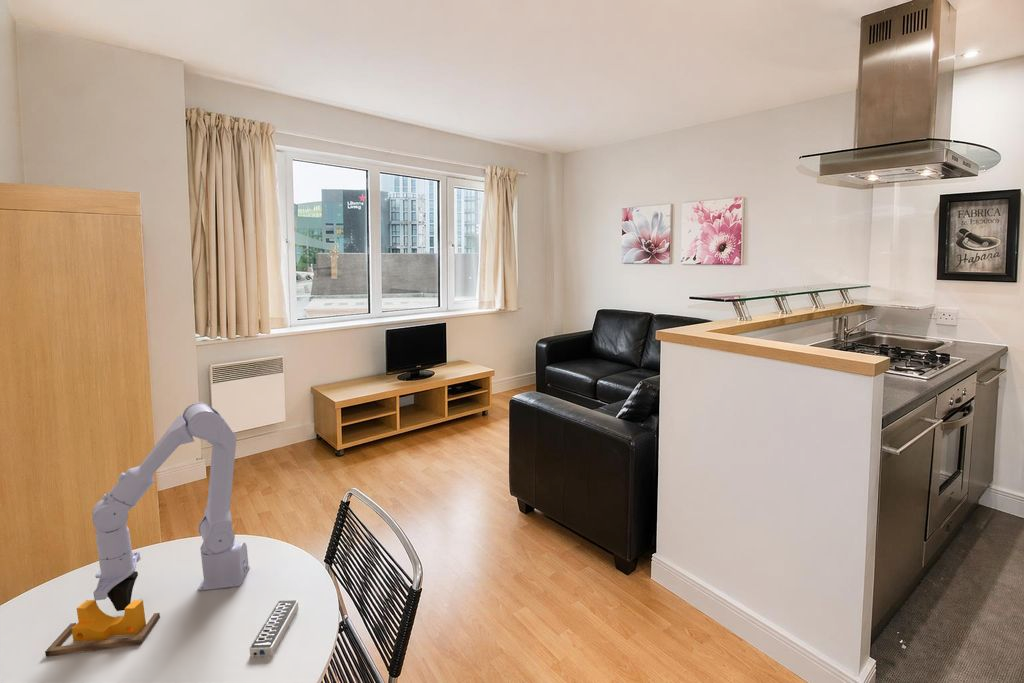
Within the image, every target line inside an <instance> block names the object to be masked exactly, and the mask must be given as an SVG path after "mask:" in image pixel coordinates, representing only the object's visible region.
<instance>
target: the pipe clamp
mask: <svg viewBox="0 0 1024 683" xmlns="http://www.w3.org/2000/svg"><path fill="white" fill-rule="evenodd" d="M76 615H77V621H78V622H77V623H76V625H75V626H74V627H72V634H71V635H72V639H73V642H97V641H105V640H109V638H110V637H111V636H139V634H140V633H141V632H142V630H143V629H144V627H145V626H146V624H147V623H146V620H147V619H146V615H145V606H144V600H143V599H133V600H131V602H130V604H129V605H128V606H127V607H126V608H125V610H124V614H123V616H117V617H116V616H110V615H109V614H107V613H105V612H103V611H102V610H101V608H100V607H99V606H98V604H97V600H94V599H87V600H86V599H85V601H84V602H82V603H81V604H80V605H78V606H77V607H76Z"/></svg>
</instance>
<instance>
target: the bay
mask: <svg viewBox="0 0 1024 683" xmlns="http://www.w3.org/2000/svg"><path fill="white" fill-rule="evenodd" d="M160 618H161V613H160V612H154V613H153V615H152V616H151V617H150V619H149V620H148V622H147V623H146V626H145V627H144V629H143V630H142V631H141V633H140V634H139V635H135V636H129V637H122V638H115V639H107V640H105V641H97V642H92V641H88V642H84V643H75V644H69V645H66V644H65V645H63V644H64V643H65V642H66V641H67V640H68V639H69V637H70V636H71V635H72V627H74V626H75V625H76V624H77V623H76V622H73V623H70V624H69V625H67V627H66V628H65V629H64V630H63V631H62V632H61V633H60V635H58V637H57V638H56V639H55V640H54V641H53V642H52V643H51V645H50V646H49V647H48V648H47V649H45V651H44V653H45V658H47V657H48V658H49V657H53V656H56V657H57V656H62V655H63V656H64V655H70V654H77V653H78V654H80V653H86V652H93V651H100V650H101V651H102V650H108V649H116V648H124V647H132V646H138V645H143V643H144V642H145V640H146V639H147V637H148V636H149V635H150V633H151V632H152V630H153V629H154V627H155V626H156V624H157V623H158V622H159V619H160Z"/></svg>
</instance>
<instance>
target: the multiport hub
mask: <svg viewBox="0 0 1024 683" xmlns="http://www.w3.org/2000/svg"><path fill="white" fill-rule="evenodd" d="M298 611H299V601H298V599H297V600H296V599H293V600H292V599H291V600H288V599H287V600H283V599H282V600H279V601H278V602H277V603H276V604H275V605H274V607H273V609H272V611H271V612H270V614H269V616H268V617H267V619H266V621H265V622H264V623H263V625H262V627H261V629H260V630H259V631H258V634H257V635H256V637H255V638H254V640H253V641H252V643H251V644H250V646H249V657H250V658H270V657H272V656H274V654H275V652H276V650H278V647H279V645H280V643H281V641H282V640H283V637H284V636H285V633H286V632H287V630H288V629H289V627H290V625H291V623H292V621H293V620H294V618H295V615H296V614H297V612H298Z"/></svg>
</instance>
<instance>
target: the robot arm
mask: <svg viewBox="0 0 1024 683" xmlns="http://www.w3.org/2000/svg"><path fill="white" fill-rule="evenodd" d="M193 437H194V438H197V439H199V440H203V441H207V442H208V443H209V444H210V445H212V447H211V449H212V450H211V457H210V458H211V459H210V468H209V469H210V470H209V480H208V481H209V482H208V491H207V492H208V493H207V501H206V502H207V503H206V507H205V508H204V513H203V516H202V519H201V520H200V522H199V524H198V533H199V534H200V536H201V538H202V543H201V545H200V557H201V565H202V566H201V568H202V575H203V579H202V581H201V582H200V584H199V586H198V587H197V591H199V592H201V591H209V590H219V589H226V588H233V587H234V588H235V587H240V586H241V585H242V583H243V582H244V580H245V578H246V576H247V574H248V572H249V570H250V565H249V557H248V546H247V544H246V542H243V541H242V542H240V541H236V539H235V537H236V536H235V532H234V530H233V528H232V523H233V520H232V513H231V504H232V503H231V502H232V492H233V480H234V471H235V469H234V468H235V460H236V447H237V435H236V434H235V433H234V431H233V430H232V429H231V427H230V426H229V424H228V423H227V422H226V420H225V419H224V418H223V416H222V415H221V414H220V412H218V410H216V408H213V407H212V406H210V404H209V405H208V404H207V403H206V402H205V403H204V402H195V403H191V404H190V405H188V406H187V407H186V408H185V409H184V411H183V413H182V414H180V415H178V416H177V417H176V419H175V420H173V422H172V423H171V424H170V425H169V427H168V428H167V429H166V431H165V432H164V434H163V435H162V436H161V437H160V438H159V440H158V442H157V443H156V444H155V445H154V446H153V448H152V449H151V450H150V452H149V453H148V454H147V455H146V457H145V458H144V459H143V460H142V462H141V463H140V464H139V465H138V466H135V467H131V468H128V469H127V471H126V472H120V474H119V475H118V478H117V479H118V481H117V482H116V483H115V485H113V487H112V488H111V490H110V491H108V493H104V494H103V495H102V496H101V499H100V500H98V501H97V502H96V503H95V505H94V507H93V508H92V512H91V515H92V524H93V527H94V528H95V530H94V531H95V532H94V533H95V543H96V550H97V555H98V561H99V562H98V563H99V568H100V569H99V571H98V572H97V573H96V574H95V576H94V577H95V578H96V579H98V583H97V586H96V588H95V590H94V591H93V600H96V601H102V600H106V599H107V598H108V599H109V600H110V602H111V603H112V605H113V607H114V609H115V610H116V611H117V612H121V611H125V608H126V607H127V606H128V605H129V604H130V603H131V602H132V596H133V590H134V587H135V584H136V580H137V577H138V576H139V572H138V571H137V570H136V568H137V563H138V562H139V561H141V554H140V551H135V552H133V549H132V542H131V535H130V529H129V527H128V525H127V522H128V519H129V511H130V510H132V508H134V507H135V506H136V505H137V503H138V502H139V501H140V500H141V499H142V497H143V496H144V495H145V493H146V492H147V491H148V490H149V489H150V488H151V486H153V484H154V483H155V476H154V474H155V473H156V471H158V470H159V469H160V467H161V466H162V465H163V464H164V463H165V462H166V461H167V460H168V459H169V457H171V455H172V454H173V453H174V452H175V451H176V450H177V448H179V446H181V445H185V444H190V443H193V442H195V439H194V438H193Z"/></svg>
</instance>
